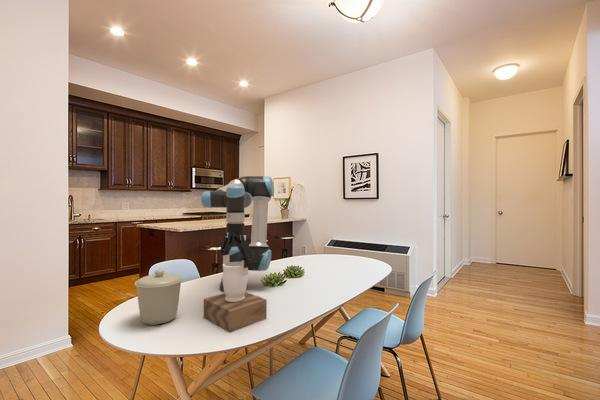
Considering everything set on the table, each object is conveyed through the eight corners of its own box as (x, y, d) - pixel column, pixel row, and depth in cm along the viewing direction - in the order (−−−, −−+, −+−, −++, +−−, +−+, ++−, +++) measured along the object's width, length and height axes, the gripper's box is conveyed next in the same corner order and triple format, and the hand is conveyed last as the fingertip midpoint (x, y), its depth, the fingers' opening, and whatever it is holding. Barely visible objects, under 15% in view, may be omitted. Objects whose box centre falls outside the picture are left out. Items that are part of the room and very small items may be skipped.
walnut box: (203, 317, 126) (203, 298, 126) (238, 306, 139) (238, 289, 139) (230, 332, 112) (230, 311, 112) (266, 318, 125) (266, 299, 125)
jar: (234, 305, 118) (235, 267, 118) (216, 300, 124) (217, 264, 124) (252, 297, 127) (252, 263, 127) (235, 293, 133) (235, 260, 133)
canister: (174, 328, 115) (174, 274, 115) (125, 330, 113) (125, 275, 113) (187, 311, 133) (188, 264, 133) (146, 312, 131) (146, 264, 131)
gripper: (212, 221, 131) (211, 269, 131) (245, 225, 114) (245, 280, 114) (226, 220, 136) (226, 266, 137) (261, 224, 119) (260, 276, 120)
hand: (235, 272), depth 125 cm, fingers open, 13 cm apart
